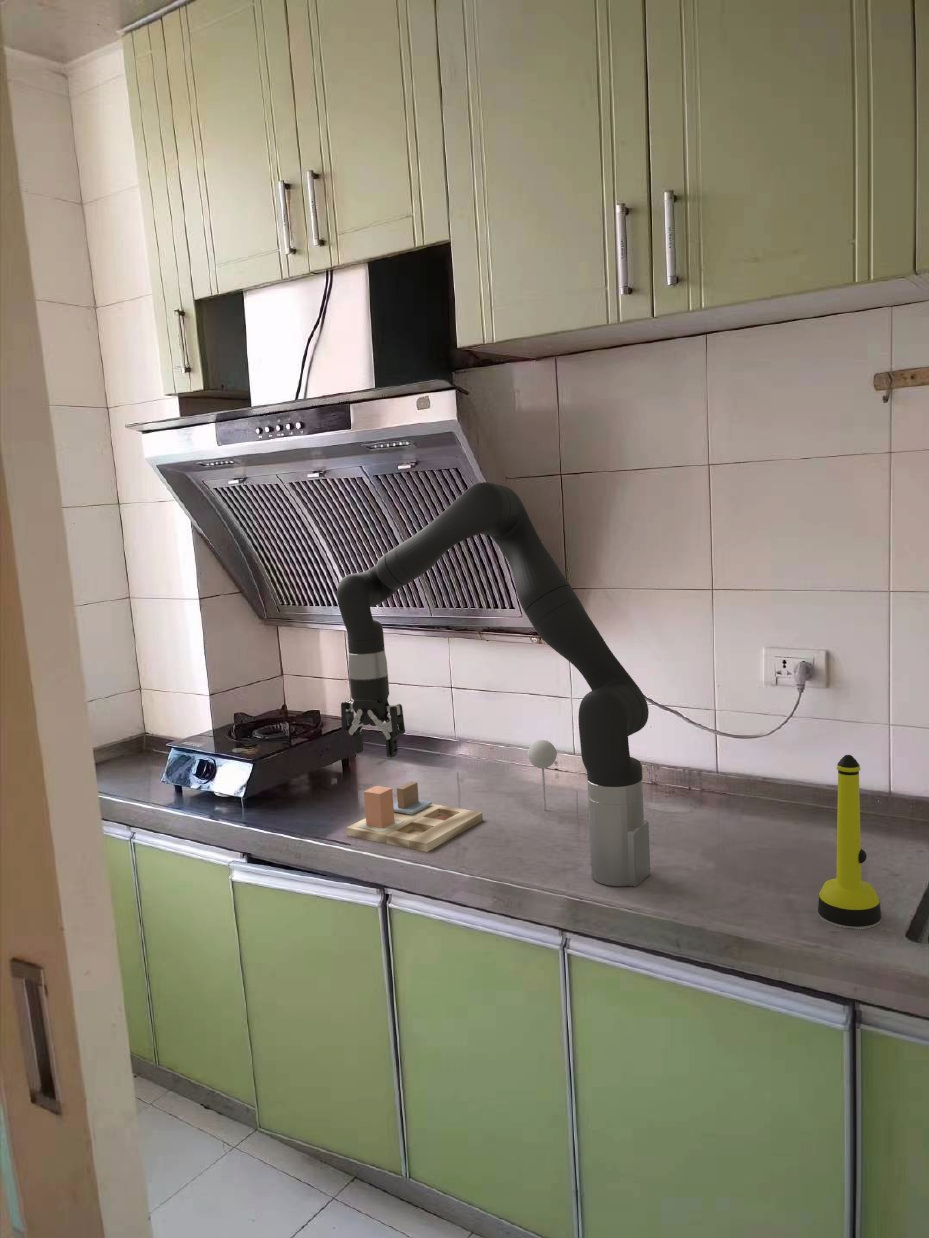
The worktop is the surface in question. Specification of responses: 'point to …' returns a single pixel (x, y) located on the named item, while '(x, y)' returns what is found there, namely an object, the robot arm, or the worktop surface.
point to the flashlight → (849, 861)
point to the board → (419, 827)
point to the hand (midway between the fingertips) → (374, 754)
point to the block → (379, 806)
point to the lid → (409, 799)
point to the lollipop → (542, 758)
